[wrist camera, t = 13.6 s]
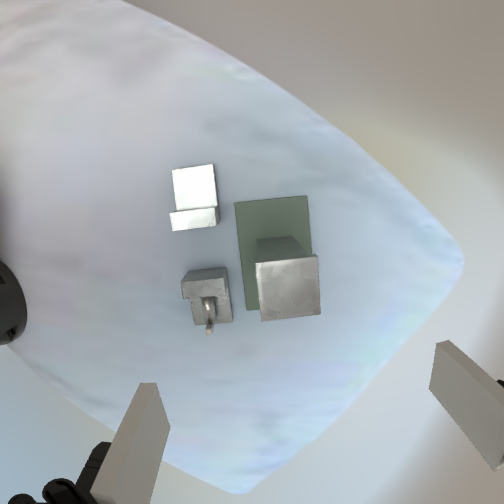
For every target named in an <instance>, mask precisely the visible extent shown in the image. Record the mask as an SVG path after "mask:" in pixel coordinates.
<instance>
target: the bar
mask: <svg viewBox="0 0 504 504" xmlns="http://www.w3.org/2000/svg"><path fill="white" fill-rule="evenodd" d="M256 243H257V252H258V260H255V266H256V275H257V284H258V293H259V302H260V312H261V321H269V320H278V319H286V318H295V317H303V316H310V315H318V314H321V313H320V291H319V272H318V256H317V255H316V254H307V252H306V251H305V250H304V249H303V248H302V247H301V245H300V244H299V243H298V242H297V241H296V240H295V238H294V237H293V236H282V237H273V238H263V239H256Z"/></svg>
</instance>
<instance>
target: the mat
mask: <svg viewBox="0 0 504 504" xmlns="http://www.w3.org/2000/svg"><path fill="white" fill-rule="evenodd" d="M234 205H235V214H236V223H237V232H238V240H239V249H240V257H241V266H242V274H243V282H244V291H245V299H246V307H247V310H256V309H260V302H259V293H258V284H257V275H256V266H255V260H258V252H257V243H256V239H263V238H273V237H282V236H293V237H294V238H295V240H296V241H297V242H298V243H299V244H300V245H301V247H302V248H303V249H304V250H305V251H306V252H307V254H312V251H311V237H310V225H309V213H308V202H307V196H298V197H287V198H277V199H267V200H257V201H248V202H239V203H234Z"/></svg>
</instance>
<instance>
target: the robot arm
mask: <svg viewBox="0 0 504 504" xmlns="http://www.w3.org/2000/svg"><path fill="white" fill-rule="evenodd" d="M25 325H26V305H25V300H24V296H23V293H22V291H21V288H20V286H19V284H18V282H17V280H16V278H15V277H14V275H13V274H12V272H11V271H10V270H9V269H8V268H7V266H5V265H4V264H3V263H2V262H0V345H4V344H8V343H11V342H12V341H14V340H15V339H16V338H18V337H19V336H20V335H21V334H22V332H23V331H24V328H25ZM429 390H430V391H431V392H432V393H433V395H434V396H435V397H436V398H437V400H438V401H439V402H440V403H441V405H442V406H443V407H444V408H445V409H446V411H447V412H448V413H449V414H450V416H451V417H452V418H453V419H454V421H455V422H456V423H457V425H458V426H459V427H460V428H461V430H462V431H463V432H464V433H465V435H466V436H467V437H468V439H469V440H470V441H471V442H472V444H473V445H474V446H475V448H476V449H477V450H478V452H479V453H480V454H481V455H482V457H483V458H484V459H485V461H486V462H487V463H488V465H489V466H490V467H491V469H492V470H493V471H494V472H495V471H496V470H498V469H499V468H501V467H503V466H504V381H502V380H498V381H495V380H494V379H493V378H492V377H491V376H489V374H488V373H486V372H485V371H484V370H483V369H482V368H481V367H480V366H478V365H477V364H476V363H475V362H474V361H473V360H471V359H470V358H469V357H468V356H467V355H466V354H465V353H463V352H462V351H461V350H460V349H459V348H458V347H456V346H455V345H454V344H453V343H452V342H450V341H449V340H447V341H443V342H440V343H436V350H435V357H434V363H433V369H432V375H431V380H430V385H429ZM169 430H170V424H169V422H168V419H167V416H166V413H165V410H164V407H163V403H162V400H161V397H160V394H159V391H158V388H157V384H156V383H140V385H139V387H138V389H137V391H136V393H135V395H134V397H133V399H132V401H131V404H130V406H129V408H128V410H127V412H126V414H125V416H124V418H123V420H122V422H121V424H120V427H119V429H118V431H117V433H116V435H115V437H114V439H113V442H112V443H110V442H101V443H100V444H98V445H97V446H96V447H95V448H94V449H93V450H92V453H91V455H90V456H89V460H87V462H86V464H85V467H84V468H83V470H82V472H81V474H80V476H79V478H78V480H77V482H76V484H74V483H73V482H72V481H70V480H68V479H64V478H59V479H54V480H52V481H50V482H48V483H47V484H46V485H45V486H44V489H43V491H42V496H43V498H44V499H45V500H46V502H47V503H37V502H36V501H35V500H34V499H33V498H32V496H30V495H28V494H18V495H15V496H14V497H12V498H11V499H10V500H9V502H8V504H150V500H151V496H152V492H153V489H154V485H155V481H156V477H157V473H158V470H159V466H160V462H161V459H162V455H163V452H164V448H165V445H166V441H167V437H168V434H169Z"/></svg>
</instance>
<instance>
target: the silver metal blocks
mask: <svg viewBox="0 0 504 504" xmlns="http://www.w3.org/2000/svg"><path fill="white" fill-rule="evenodd" d="M172 176H173V185H174V193H175V201H176V209H177V211H175V212H172V213H170V217H171V225H172V231H176V230H184V229H192V228H201V227H209V226H216V225H217V224H218V223H219V222H220V214H219V206H218V198H217V189H216V180H215V171H214V165H213V164H211V165H203V166H196V167H189V168H182V169H176V170H172ZM180 283H181V289H182V295H183V299H186V298H190V302H191V307H192V313H193V319H194V324H195V325H207V326H206V335H212V333H213V329H214V325H215V324H218V323H229V322H232V321H233V315H232V308H231V300H230V293H229V286H228V278H227V270H226V267H225V268H215V269H206V270H196V271H188V272H187V274H186V275H185V276H184V278H183V279H182V281H181V282H180Z"/></svg>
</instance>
